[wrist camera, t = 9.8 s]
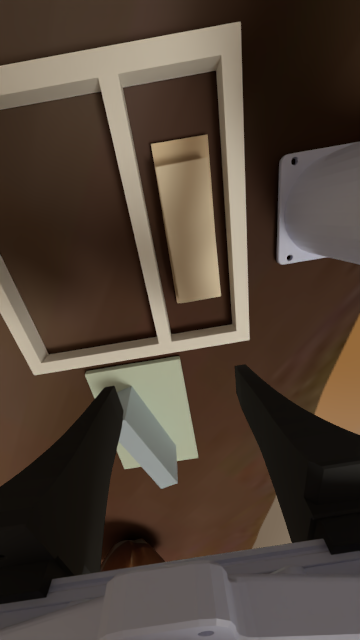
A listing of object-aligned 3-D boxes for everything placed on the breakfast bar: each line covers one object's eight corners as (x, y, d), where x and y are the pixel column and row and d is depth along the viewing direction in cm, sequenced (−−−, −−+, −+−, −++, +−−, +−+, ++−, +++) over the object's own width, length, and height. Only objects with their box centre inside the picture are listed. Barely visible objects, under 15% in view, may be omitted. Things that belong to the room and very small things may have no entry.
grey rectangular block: (131, 385, 24) (124, 419, 20) (176, 445, 28) (177, 482, 24) (115, 392, 24) (105, 427, 20) (162, 450, 28) (161, 488, 24)
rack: (233, 40, 14) (240, 21, 12) (244, 332, 23) (249, 339, 21) (-94, 101, 14) (-122, 88, 13) (42, 366, 23) (34, 375, 22)
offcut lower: (204, 140, 16) (207, 134, 15) (217, 292, 21) (219, 296, 20) (151, 149, 17) (151, 143, 15) (176, 299, 21) (177, 303, 20)
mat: (179, 355, 23) (179, 359, 23) (197, 453, 30) (198, 457, 29) (86, 371, 23) (84, 374, 23) (125, 464, 30) (124, 469, 30)
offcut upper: (204, 161, 16) (207, 157, 15) (218, 291, 20) (220, 296, 19) (156, 170, 16) (155, 167, 15) (179, 298, 20) (180, 303, 19)
